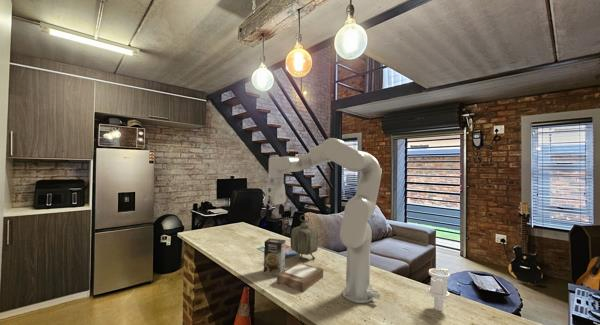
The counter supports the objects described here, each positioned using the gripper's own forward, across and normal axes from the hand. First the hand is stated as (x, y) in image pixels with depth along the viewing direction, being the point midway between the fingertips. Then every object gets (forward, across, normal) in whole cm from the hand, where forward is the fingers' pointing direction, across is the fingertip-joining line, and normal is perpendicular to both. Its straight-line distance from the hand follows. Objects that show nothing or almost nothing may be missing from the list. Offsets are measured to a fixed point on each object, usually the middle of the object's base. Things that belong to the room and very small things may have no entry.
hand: (275, 215), depth 128 cm
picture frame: (+28, +1, -15) cm, 32 cm away
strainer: (+28, +12, -71) cm, 78 cm away
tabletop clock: (+28, +25, -1) cm, 38 cm away
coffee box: (+28, 0, 0) cm, 28 cm away
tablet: (+29, +28, +18) cm, 44 cm away
